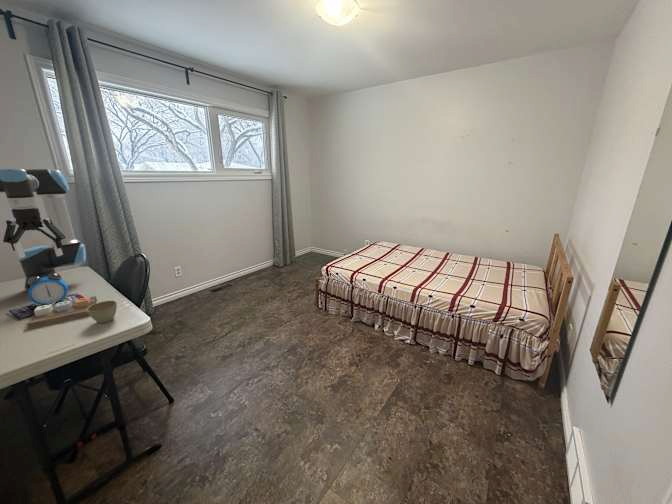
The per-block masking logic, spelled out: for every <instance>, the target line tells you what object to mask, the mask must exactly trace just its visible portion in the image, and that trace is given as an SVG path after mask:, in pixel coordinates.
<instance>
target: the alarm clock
mask: <svg viewBox="0 0 672 504" xmlns="http://www.w3.org/2000/svg"><path fill="white" fill-rule="evenodd" d="M42 277H43V278H41V277H39V276H34V277H32V278H30V279H29V280H28V284H29V285H31V284H32V285H31V287H30V289H29V291H28V292H27V295H28V298H29V300H31V302H33V303H35V304H37V305H39V306H43V305H42V304H47V303H54V302H58V303H59V301H63V300H64V299H65V298H66V296H67V295H68V289H69V286H68V283H66V281H65V280H63V279H61V278H62V275H60V273H57V272H56V273H52V274H49V275H48V277H46V276H42Z"/></svg>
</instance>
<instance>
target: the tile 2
mask: <svg viewBox="0 0 672 504" xmlns="http://www.w3.org/2000/svg"><path fill="white" fill-rule="evenodd" d="M90 297H91V296H85V297H80V298H76V299H75V300H76V301H75V305H76V308H80V307H84V306H89V305H90V304H91V300H90Z"/></svg>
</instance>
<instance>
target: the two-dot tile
mask: <svg viewBox="0 0 672 504" xmlns="http://www.w3.org/2000/svg"><path fill="white" fill-rule="evenodd" d="M72 306H73V305H72V300H71V299H70V300H65V301H62V302H58V303H56V306H55V308H56V311H57V312H60V311H65V310H70V309H71V308H72Z"/></svg>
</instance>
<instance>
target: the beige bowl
mask: <svg viewBox="0 0 672 504" xmlns="http://www.w3.org/2000/svg"><path fill="white" fill-rule="evenodd" d="M117 306H118V305H117V301H116V300H104V301H100V302H96V304H94V305H92V306H90V307H88V308H87V312H88V314H89V315H88V316H89V317H90V318H91V319H93V320H94V321H95V322H97V323H98V324H106V323H109V322H111V321H113V319H114V318H115V316H116V312H117Z"/></svg>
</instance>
